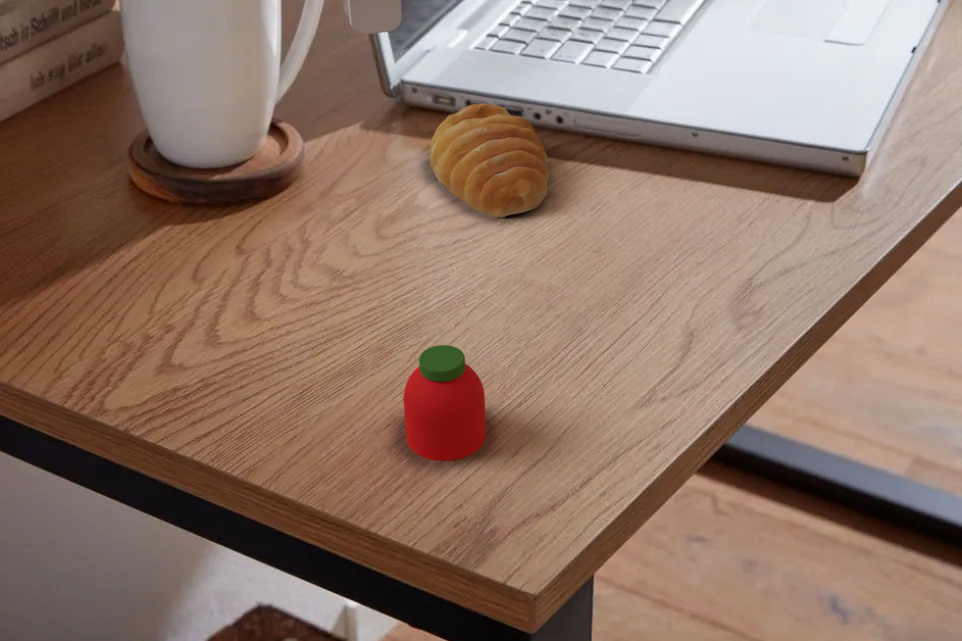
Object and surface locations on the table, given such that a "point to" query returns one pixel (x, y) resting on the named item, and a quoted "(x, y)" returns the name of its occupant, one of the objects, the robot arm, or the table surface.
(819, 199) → the table surface
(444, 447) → the red sauce bottle
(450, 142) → the pastry
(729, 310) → the table surface
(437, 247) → the table surface
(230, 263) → the table surface
